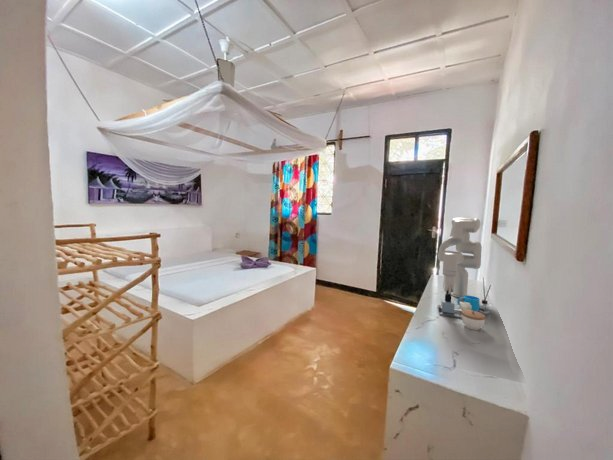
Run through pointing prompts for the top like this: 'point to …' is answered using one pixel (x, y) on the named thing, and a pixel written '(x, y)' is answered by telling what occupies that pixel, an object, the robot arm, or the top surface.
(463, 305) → the rail plate
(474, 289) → the top surface
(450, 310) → the block
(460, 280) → the robot arm
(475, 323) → the lidded jar
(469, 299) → the mug
